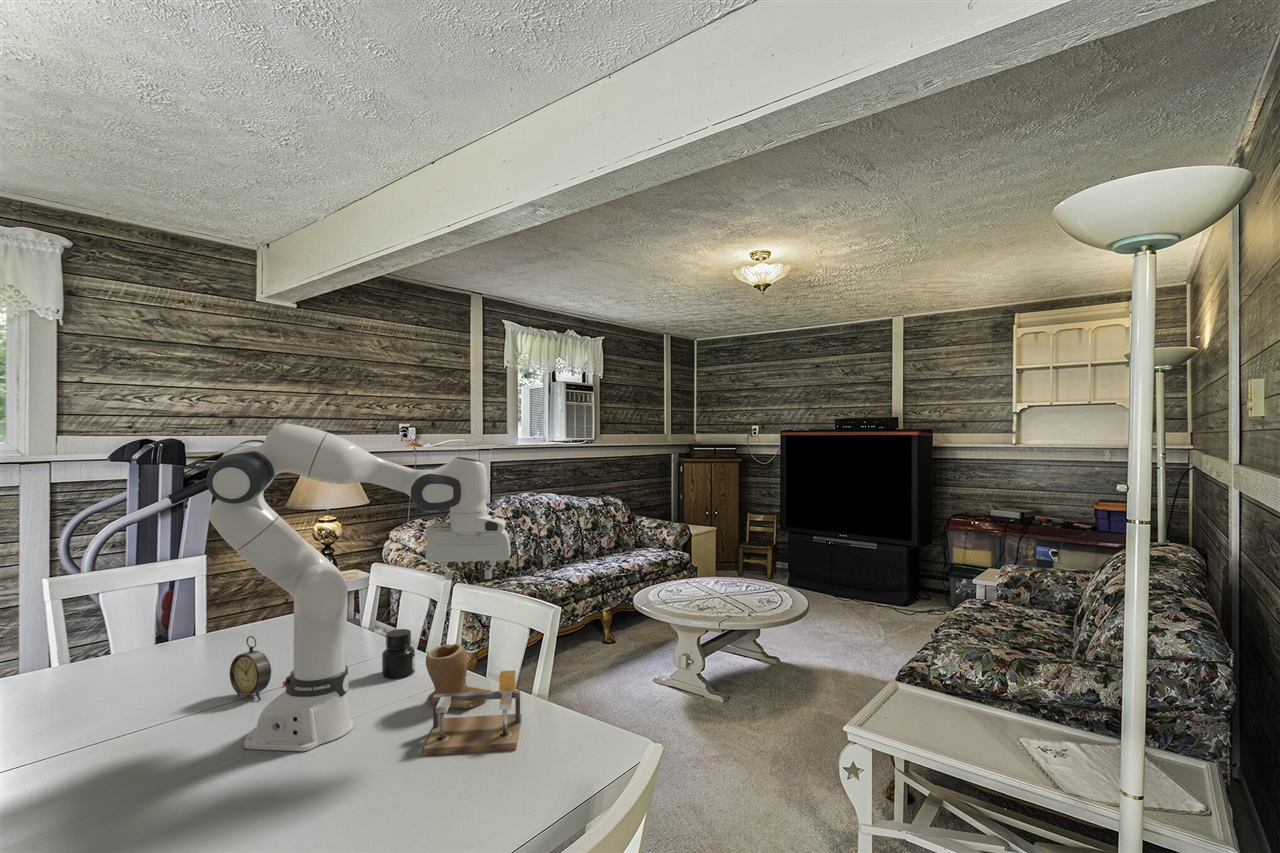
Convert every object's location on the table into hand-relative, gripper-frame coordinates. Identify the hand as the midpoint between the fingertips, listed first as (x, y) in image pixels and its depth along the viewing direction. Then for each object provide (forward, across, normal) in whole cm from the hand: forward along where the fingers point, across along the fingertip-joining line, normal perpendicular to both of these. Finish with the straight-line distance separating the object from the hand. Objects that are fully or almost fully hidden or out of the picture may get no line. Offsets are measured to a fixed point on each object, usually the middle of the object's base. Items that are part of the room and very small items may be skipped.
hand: (468, 578), depth 152 cm
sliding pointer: (+33, +10, -8) cm, 35 cm away
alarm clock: (+35, -60, +20) cm, 72 cm away
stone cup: (+35, -5, +9) cm, 36 cm away
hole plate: (+35, +3, -9) cm, 36 cm away
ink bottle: (+35, -25, +31) cm, 53 cm away
